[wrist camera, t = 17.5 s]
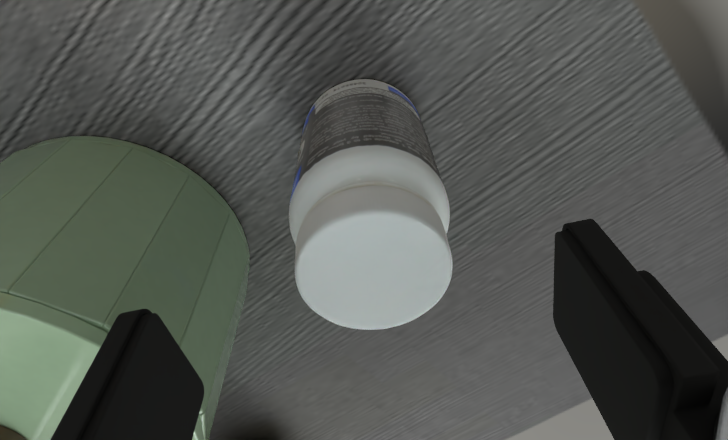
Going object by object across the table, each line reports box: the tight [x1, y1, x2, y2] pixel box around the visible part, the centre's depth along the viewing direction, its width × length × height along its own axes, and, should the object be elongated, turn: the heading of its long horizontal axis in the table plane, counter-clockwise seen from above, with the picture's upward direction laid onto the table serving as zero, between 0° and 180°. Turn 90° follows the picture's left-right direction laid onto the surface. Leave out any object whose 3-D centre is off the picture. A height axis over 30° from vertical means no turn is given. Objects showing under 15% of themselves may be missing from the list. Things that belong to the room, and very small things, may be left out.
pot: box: [0, 136, 250, 440], centre depth 18 cm, size 11×11×8 cm
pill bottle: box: [289, 79, 453, 330], centre depth 15 cm, size 5×5×8 cm
